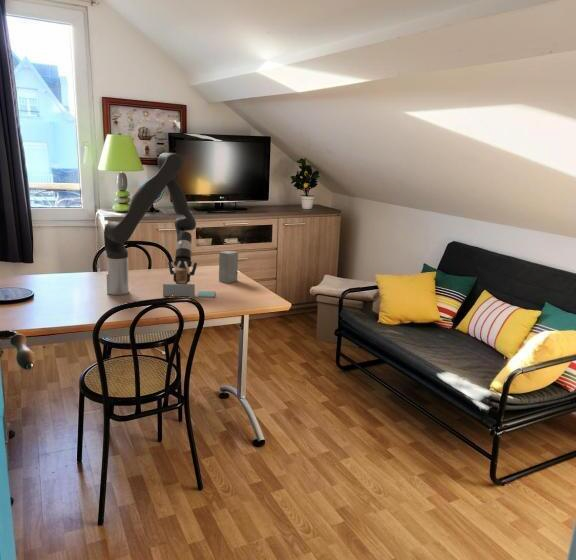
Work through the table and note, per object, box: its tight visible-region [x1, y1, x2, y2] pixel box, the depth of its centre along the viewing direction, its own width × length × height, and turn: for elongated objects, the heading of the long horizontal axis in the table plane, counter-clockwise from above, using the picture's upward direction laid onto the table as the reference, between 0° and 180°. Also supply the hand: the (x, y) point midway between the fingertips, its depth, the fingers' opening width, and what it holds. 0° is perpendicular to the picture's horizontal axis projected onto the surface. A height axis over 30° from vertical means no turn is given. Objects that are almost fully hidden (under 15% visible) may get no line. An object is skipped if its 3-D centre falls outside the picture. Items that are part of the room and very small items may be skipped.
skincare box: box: [218, 250, 239, 284], centre depth 274 cm, size 8×7×16 cm
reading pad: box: [197, 290, 216, 298], centre depth 251 cm, size 8×8×1 cm
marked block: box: [175, 268, 188, 284], centre depth 249 cm, size 5×5×10 cm
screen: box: [162, 283, 196, 298], centre depth 245 cm, size 14×1×6 cm, turn 98°
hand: (181, 281), depth 247 cm, fingers closed on marked block, 5 cm apart
